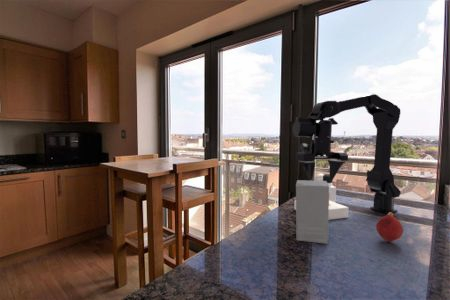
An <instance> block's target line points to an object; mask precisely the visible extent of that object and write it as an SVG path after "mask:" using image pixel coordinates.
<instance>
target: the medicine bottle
mask: <svg viewBox="0 0 450 300" xmlns="http://www.w3.org/2000/svg"><path fill="white" fill-rule="evenodd" d="M316 179H317V180H316V181H327V184H328V186H329V200H330V201H332V202H335V203H337V202H336V201H337V200H336V197H337V187H336V186H334V185H333V180H334V179H333V180H330V173H318V174H317V177H316Z"/></svg>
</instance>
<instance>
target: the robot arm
mask: <svg viewBox="0 0 450 300" xmlns="http://www.w3.org/2000/svg"><path fill="white" fill-rule="evenodd" d="M359 108H365V109H366V112H367V113H368V114H369V115H371V116H372V124H373V125H374V126H375V129H376V135H375V136H376V137H375V138H376V139H375V151H374V162H373V167H372V169H371V170H367V171H366V179H365V182H367V186H368V187H369V191H370V192H371V193H374V197H373V204H372V205H373V206H370V209H371V210H373V211H374V210H375V211H376V212H380V213H383V214H388V213H398V210H397V209H395V208H394V207H395V198H399V197H400V196H401V193H402V191H401V190H400V189H399V187H398V186H397V185H396V184H395V175H394V174H393V172H392V170H391V168H390V167H391V155H392V154H391V153H392V143H393V132H394V129H395V127H396V126H397V124H398V123H399V120H400V117H401V109H400V107H399V106H398V105H396V104H394V103H392V102H391V101H389V100H388V99H387V100H386V99H384V98H382V97H381V96H379V95H377V94H375V93H372V94H365V95H363V96H360V97H356V98H350V99H346V100H325V101H323V102H322V101H321V102H317V103H315V104H314V105H313V107H312V110H311V112H310V113H309V114H308V116H307V117H299V116H298V117H296V118H295V121H294V122H293V126H292V135H293V136H294V137H295V138H312V137H313V139H312V140H311V142H310V144H307V143H300V145H299V152H298V151H297V152H296V154H295V156H294V158H295V159H294V160H295V161H298V163H300V164H301V165H302V166H303V168H304V170H305V173H306V176H307V180H308V181H313V177H314V172H315V166H316V162H315V160H327V163H328V164H329V174H330V180H334V179H335V176H336V175H337V173H338V172H339V170H340V168H341V167H342V166H343V164H346V161H348V162H349V154H348V153H347V152H341V151H331V149H332V144H334V142H335V140H334V139H333V140H332V133H333V132H332V130H333V129H332V126H334V125H338V124H339V123H338V121H336V120H335V118H334V116H336V115H339V114H340V113H342V112H345V111H349V110H354V109H359ZM317 121H318V122H317Z"/></svg>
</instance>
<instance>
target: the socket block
mask: <svg viewBox="0 0 450 300" xmlns="http://www.w3.org/2000/svg"><path fill="white" fill-rule="evenodd" d="M293 201H294V208H293V210H295V211H296V199H295V200H293ZM349 210H350V209H349V207H348V206H345V205H343V204H340V203H337V202H336V203H335V202H332V201H330V200H329V214H328V221H330V220H337V219H345V218H349V212H350V211H349Z"/></svg>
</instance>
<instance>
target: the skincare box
mask: <svg viewBox="0 0 450 300" xmlns="http://www.w3.org/2000/svg"><path fill="white" fill-rule="evenodd" d="M295 200H296V210H295V217H296V218H295V220H296V221H295V222H296V223H295V232H296V233H295V234H296V235H295V236H296V238H295V239H296V241H298V242H300V241H301V242H308V243H319V244H325V245H328V244H329V220H328V214H329V186H328V184H327V181H317V180H312V181H309V180H308V179H307V180H305V179H304V180H302V179H301V180H300V179H298V180H296V183H295Z"/></svg>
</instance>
